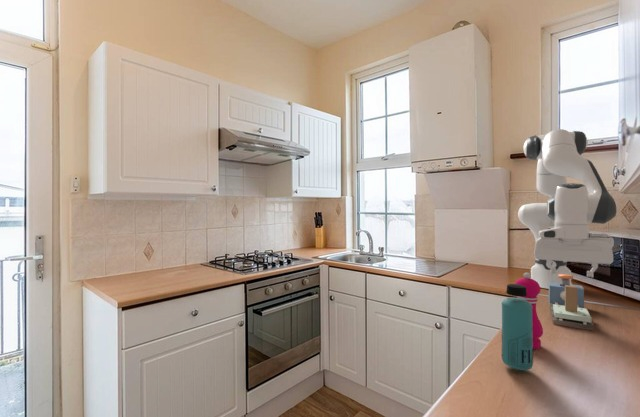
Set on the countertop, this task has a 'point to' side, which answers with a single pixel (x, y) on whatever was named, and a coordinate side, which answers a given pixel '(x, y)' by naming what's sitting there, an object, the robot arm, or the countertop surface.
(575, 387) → the countertop surface
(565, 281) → the orange rounded knob
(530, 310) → the beverage bottle
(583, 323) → the track
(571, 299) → the carriage
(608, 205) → the robot arm
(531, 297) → the pepper mill
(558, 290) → the blue side pieces
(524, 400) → the countertop surface
